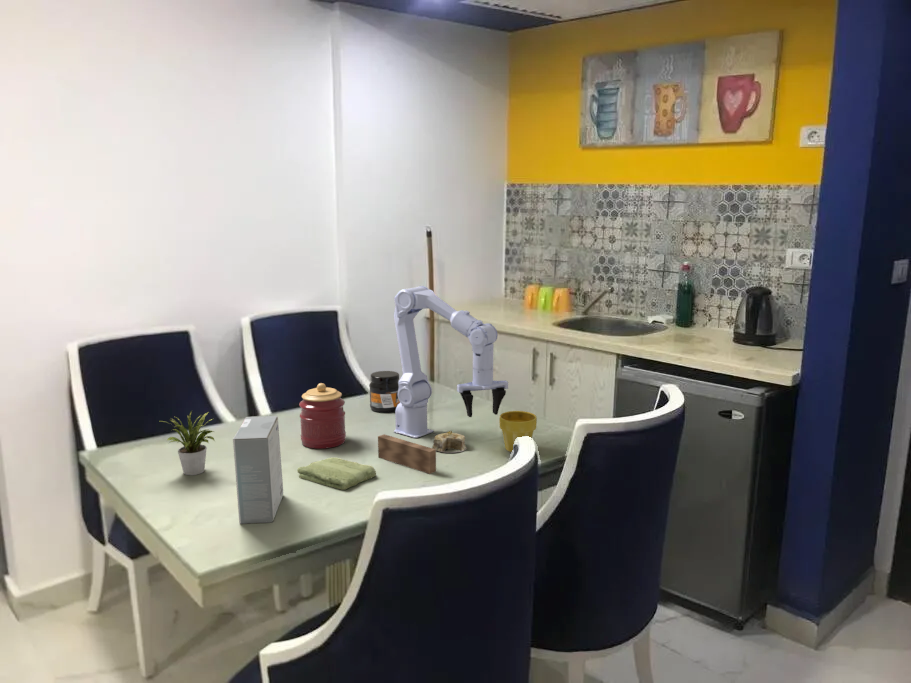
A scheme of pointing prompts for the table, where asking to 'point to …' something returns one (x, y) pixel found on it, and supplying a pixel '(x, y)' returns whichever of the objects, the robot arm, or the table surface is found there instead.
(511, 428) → the plant pot
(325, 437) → the canister
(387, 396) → the supplement container
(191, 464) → the house plant
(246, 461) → the hard drive box
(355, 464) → the washcloth
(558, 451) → the table surface
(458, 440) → the cake
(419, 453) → the walnut board
